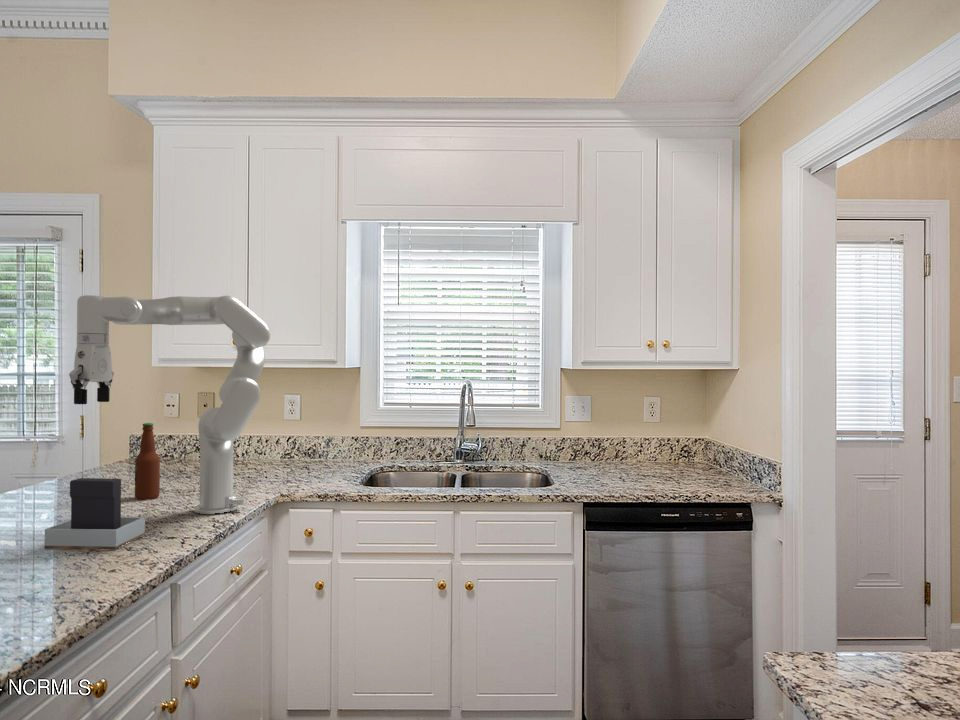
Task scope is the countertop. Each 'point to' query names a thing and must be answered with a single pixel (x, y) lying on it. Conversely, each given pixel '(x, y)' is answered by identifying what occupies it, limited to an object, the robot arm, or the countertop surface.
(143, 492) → the bottle
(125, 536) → the grey tray
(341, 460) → the countertop surface
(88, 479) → the tall charcoal block
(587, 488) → the countertop surface
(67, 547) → the pen board
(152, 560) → the countertop surface
